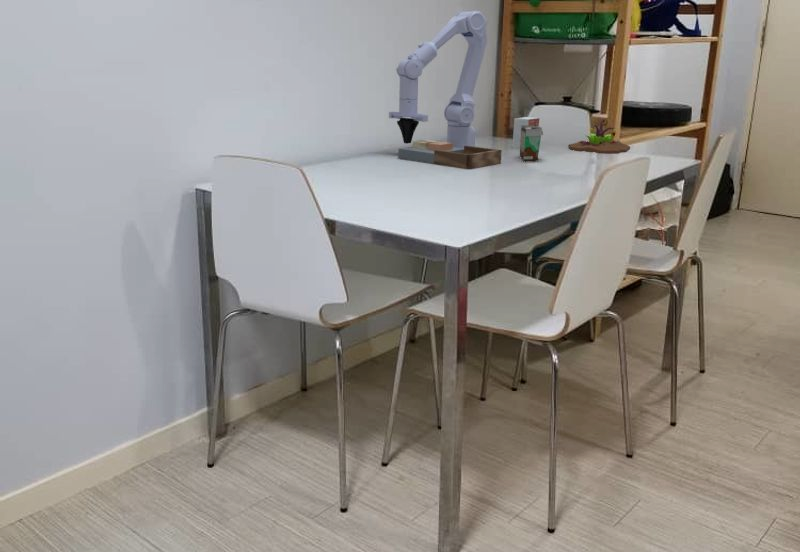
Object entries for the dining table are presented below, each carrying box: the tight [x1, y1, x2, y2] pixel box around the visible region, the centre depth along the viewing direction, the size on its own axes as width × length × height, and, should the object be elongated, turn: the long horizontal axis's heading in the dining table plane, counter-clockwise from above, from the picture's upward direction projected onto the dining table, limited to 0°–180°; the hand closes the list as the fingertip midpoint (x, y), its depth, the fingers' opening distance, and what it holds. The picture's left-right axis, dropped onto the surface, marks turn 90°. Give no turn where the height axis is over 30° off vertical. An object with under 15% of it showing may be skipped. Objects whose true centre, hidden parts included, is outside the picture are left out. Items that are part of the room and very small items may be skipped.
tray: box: [433, 146, 502, 170], centre depth 236 cm, size 16×13×4 cm
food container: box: [519, 125, 544, 163], centre depth 246 cm, size 12×6×10 cm, turn 179°
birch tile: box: [412, 139, 439, 149], centre depth 246 cm, size 6×5×2 cm
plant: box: [567, 118, 631, 155], centre depth 268 cm, size 20×20×11 cm
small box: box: [512, 116, 540, 149], centre depth 270 cm, size 8×6×10 cm
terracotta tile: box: [428, 141, 453, 151], centre depth 242 cm, size 6×5×2 cm
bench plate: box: [397, 146, 464, 165], centre depth 245 cm, size 16×14×3 cm
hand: (407, 143), depth 250 cm, fingers closed
